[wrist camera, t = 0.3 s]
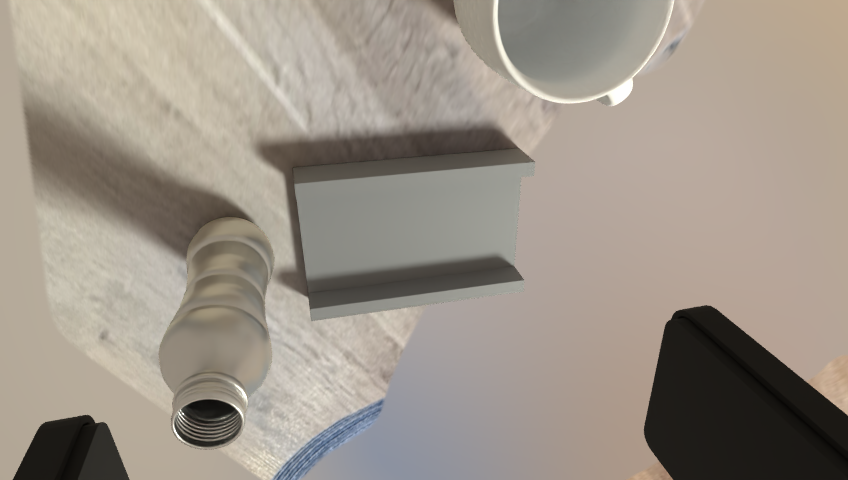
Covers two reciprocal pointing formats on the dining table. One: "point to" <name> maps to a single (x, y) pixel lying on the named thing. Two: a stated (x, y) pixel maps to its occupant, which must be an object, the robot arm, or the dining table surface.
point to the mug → (566, 43)
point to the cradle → (410, 230)
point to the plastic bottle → (219, 333)
